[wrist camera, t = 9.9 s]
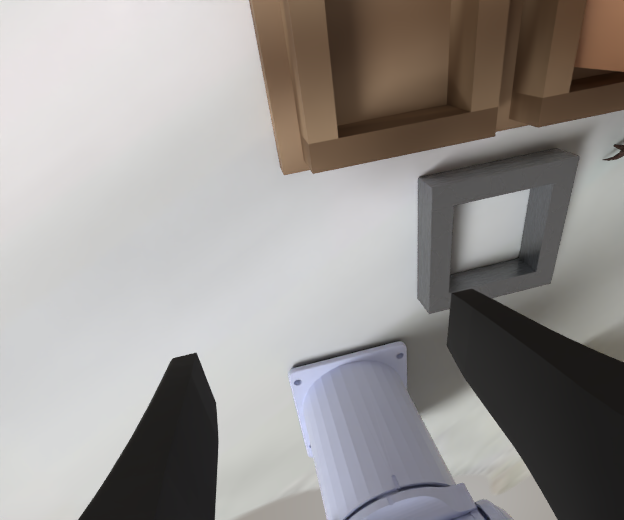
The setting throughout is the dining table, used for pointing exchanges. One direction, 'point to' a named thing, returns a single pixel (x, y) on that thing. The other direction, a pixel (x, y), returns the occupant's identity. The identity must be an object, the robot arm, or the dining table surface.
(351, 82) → the rack
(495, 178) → the socket
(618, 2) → the peg
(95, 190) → the dining table surface
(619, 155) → the decorative bird
